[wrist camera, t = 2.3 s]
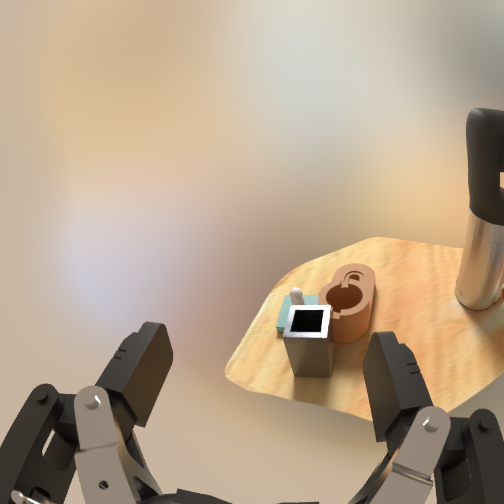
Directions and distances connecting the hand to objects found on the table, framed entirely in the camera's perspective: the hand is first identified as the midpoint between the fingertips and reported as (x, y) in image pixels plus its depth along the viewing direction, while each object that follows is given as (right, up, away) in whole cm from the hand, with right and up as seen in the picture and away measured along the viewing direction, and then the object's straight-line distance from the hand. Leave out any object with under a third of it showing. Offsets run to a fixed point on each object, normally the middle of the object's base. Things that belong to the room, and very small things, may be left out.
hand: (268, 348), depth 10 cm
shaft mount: (+8, -8, +38) cm, 40 cm away
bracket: (+18, -6, +37) cm, 42 cm away
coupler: (+9, -14, +29) cm, 34 cm away
